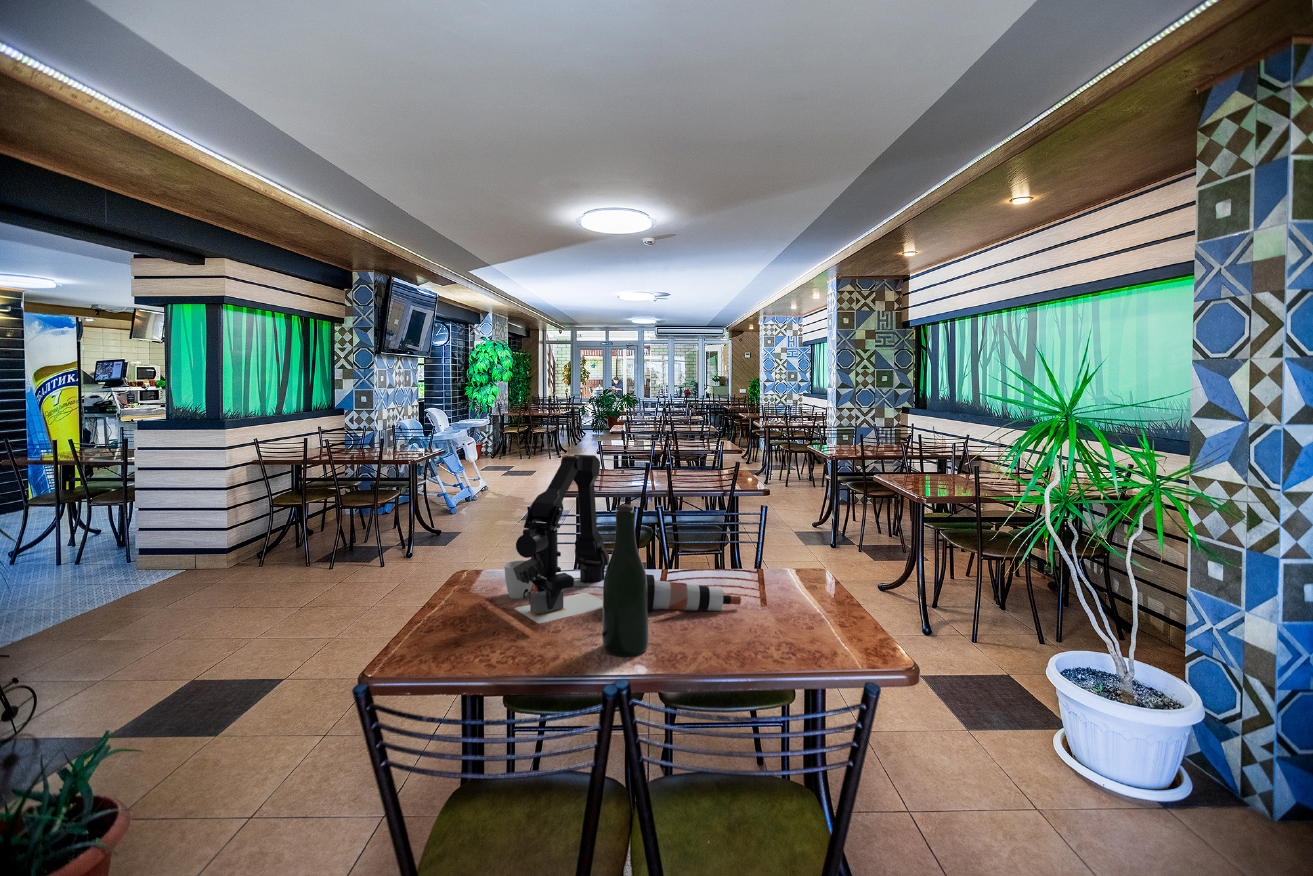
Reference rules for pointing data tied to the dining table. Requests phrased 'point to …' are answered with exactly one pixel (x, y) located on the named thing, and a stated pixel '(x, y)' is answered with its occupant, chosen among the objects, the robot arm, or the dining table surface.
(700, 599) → the striped bottle lying down
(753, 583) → the dining table surface
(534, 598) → the block
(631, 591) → the beer bottle
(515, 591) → the cup
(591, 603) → the board
